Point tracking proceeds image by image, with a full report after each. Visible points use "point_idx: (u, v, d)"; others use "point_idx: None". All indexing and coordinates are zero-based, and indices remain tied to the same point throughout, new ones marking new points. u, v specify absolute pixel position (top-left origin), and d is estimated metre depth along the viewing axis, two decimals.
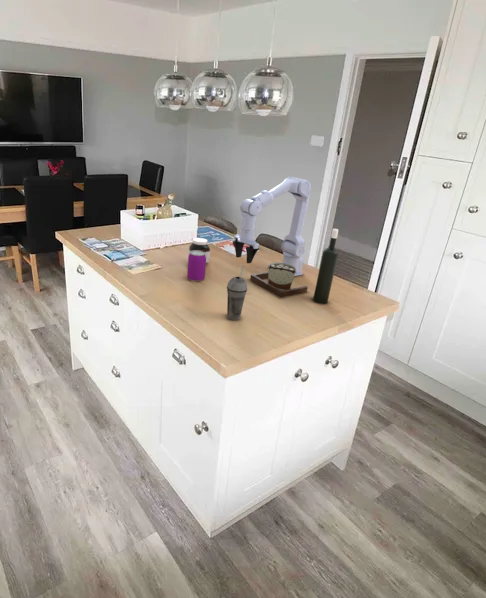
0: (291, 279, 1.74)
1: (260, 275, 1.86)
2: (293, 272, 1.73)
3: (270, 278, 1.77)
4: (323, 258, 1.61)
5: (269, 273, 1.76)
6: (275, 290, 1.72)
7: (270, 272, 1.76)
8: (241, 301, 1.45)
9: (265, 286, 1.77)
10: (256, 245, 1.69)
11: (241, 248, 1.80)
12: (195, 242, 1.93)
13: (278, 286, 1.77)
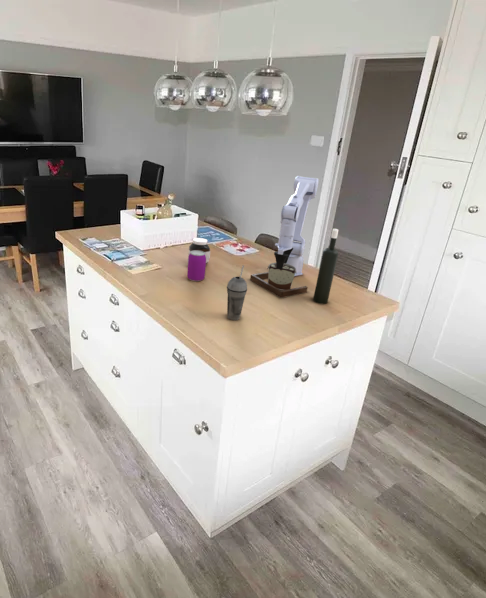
0: (291, 279, 1.74)
1: (260, 275, 1.86)
2: (293, 272, 1.73)
3: (270, 278, 1.77)
4: (323, 258, 1.61)
5: (269, 273, 1.76)
6: (275, 290, 1.72)
7: (270, 272, 1.76)
8: (241, 301, 1.45)
9: (265, 286, 1.77)
10: (279, 250, 1.67)
11: (287, 255, 1.78)
12: (195, 242, 1.93)
13: (278, 286, 1.77)
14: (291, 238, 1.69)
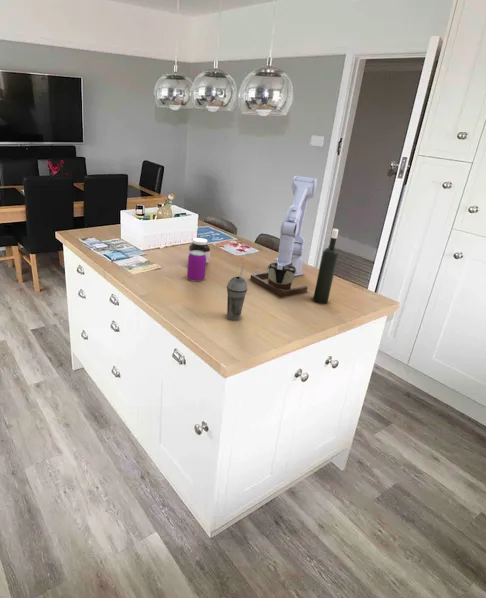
0: (291, 279, 1.74)
1: (260, 275, 1.86)
2: (293, 272, 1.73)
3: (270, 278, 1.77)
4: (323, 258, 1.61)
5: (269, 273, 1.76)
6: (275, 290, 1.72)
7: (270, 272, 1.76)
8: (241, 301, 1.45)
9: (265, 286, 1.77)
10: (279, 266, 1.69)
11: None
12: (195, 242, 1.93)
13: (278, 286, 1.77)
14: (290, 253, 1.72)
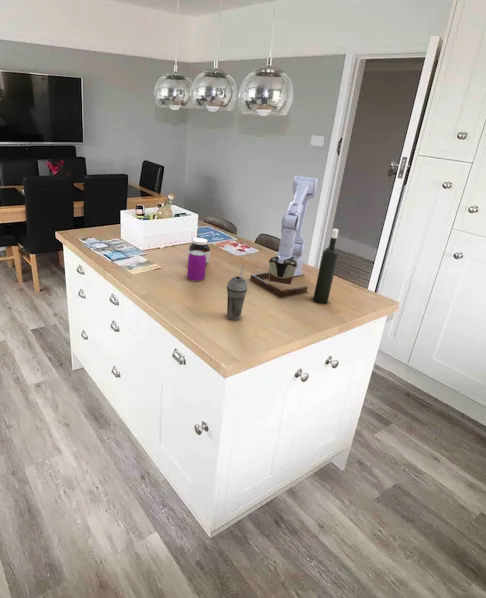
0: (292, 273, 1.73)
1: (260, 275, 1.86)
2: (294, 266, 1.72)
3: (271, 272, 1.76)
4: (323, 258, 1.61)
5: (270, 267, 1.75)
6: (275, 290, 1.72)
7: (271, 266, 1.75)
8: (241, 301, 1.45)
9: (265, 286, 1.77)
10: (280, 259, 1.68)
11: None
12: (195, 242, 1.93)
13: (279, 280, 1.76)
14: (291, 247, 1.71)
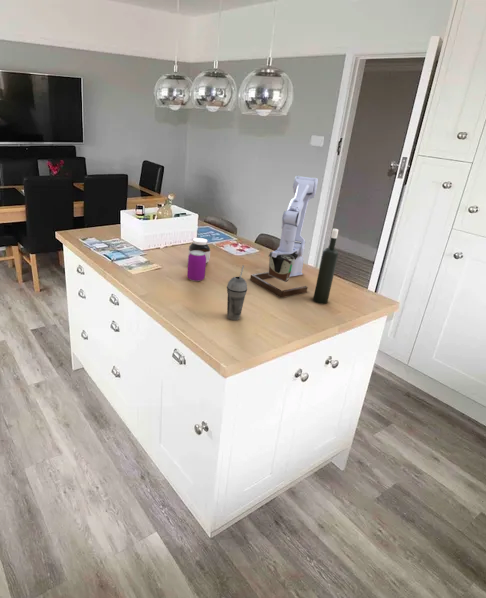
0: (287, 269, 1.71)
1: (260, 275, 1.86)
2: (289, 262, 1.70)
3: (270, 266, 1.78)
4: (323, 258, 1.61)
5: (270, 261, 1.77)
6: (275, 290, 1.72)
7: (271, 260, 1.77)
8: (241, 301, 1.45)
9: (265, 286, 1.77)
10: (273, 253, 1.70)
11: None
12: (195, 242, 1.93)
13: (277, 275, 1.76)
14: (289, 243, 1.69)
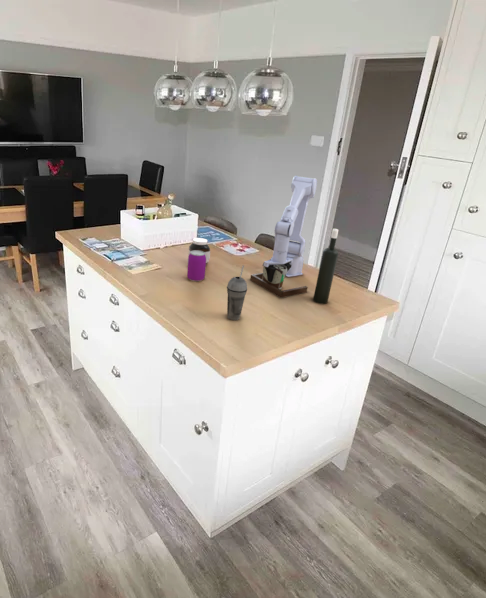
0: (279, 279, 1.73)
1: (260, 275, 1.86)
2: (281, 272, 1.71)
3: (264, 275, 1.80)
4: (323, 258, 1.61)
5: (264, 270, 1.79)
6: (275, 290, 1.72)
7: (264, 269, 1.79)
8: (241, 301, 1.45)
9: (265, 286, 1.77)
10: (265, 263, 1.72)
11: None
12: (195, 242, 1.93)
13: None
14: (281, 253, 1.71)
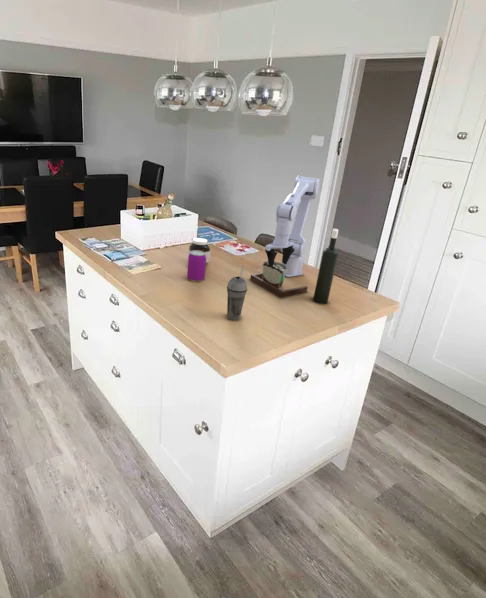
0: (279, 279, 1.73)
1: (260, 275, 1.86)
2: (281, 272, 1.71)
3: (264, 275, 1.80)
4: (323, 258, 1.61)
5: (264, 270, 1.79)
6: (275, 290, 1.72)
7: (264, 269, 1.79)
8: (241, 301, 1.45)
9: (265, 286, 1.77)
10: (266, 246, 1.70)
11: (287, 255, 1.76)
12: (195, 242, 1.93)
13: None
14: (283, 237, 1.69)
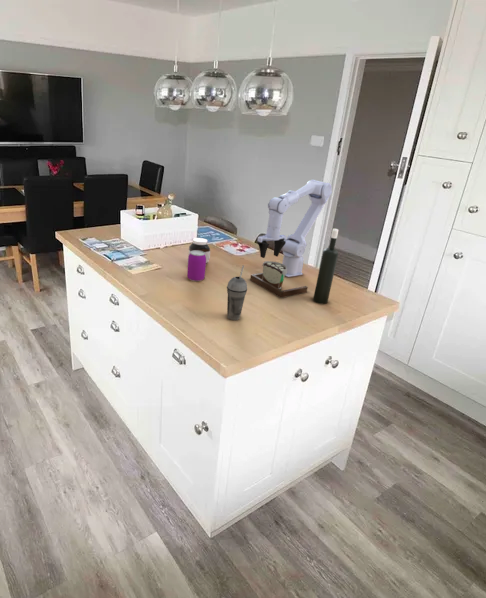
0: (279, 279, 1.73)
1: (260, 275, 1.86)
2: (281, 272, 1.71)
3: (264, 275, 1.80)
4: (323, 258, 1.61)
5: (263, 270, 1.79)
6: (275, 290, 1.72)
7: (264, 269, 1.79)
8: (241, 301, 1.45)
9: (265, 286, 1.77)
10: (259, 238, 1.77)
11: (278, 248, 1.83)
12: (195, 242, 1.93)
13: None
14: (275, 229, 1.76)
